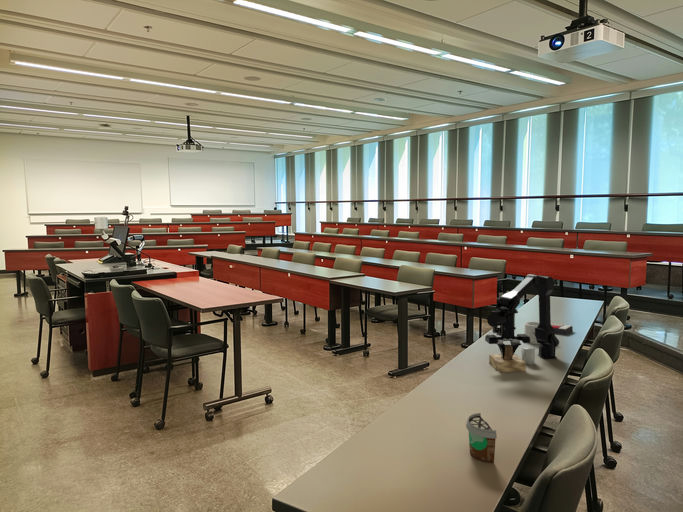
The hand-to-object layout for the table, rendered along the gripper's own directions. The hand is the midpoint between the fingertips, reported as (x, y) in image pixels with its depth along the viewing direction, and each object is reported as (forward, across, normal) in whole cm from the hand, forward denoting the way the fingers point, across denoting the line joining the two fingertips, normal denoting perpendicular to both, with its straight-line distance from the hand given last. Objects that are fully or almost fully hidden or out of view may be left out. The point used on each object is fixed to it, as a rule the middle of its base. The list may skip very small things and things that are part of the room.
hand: (507, 357), depth 208 cm
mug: (+5, -32, -38) cm, 50 cm away
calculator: (+5, -52, -59) cm, 79 cm away
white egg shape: (+5, -12, -5) cm, 14 cm away
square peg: (+2, 0, 0) cm, 3 cm away
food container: (+5, +38, +74) cm, 83 cm away
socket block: (+4, 0, 0) cm, 4 cm away
